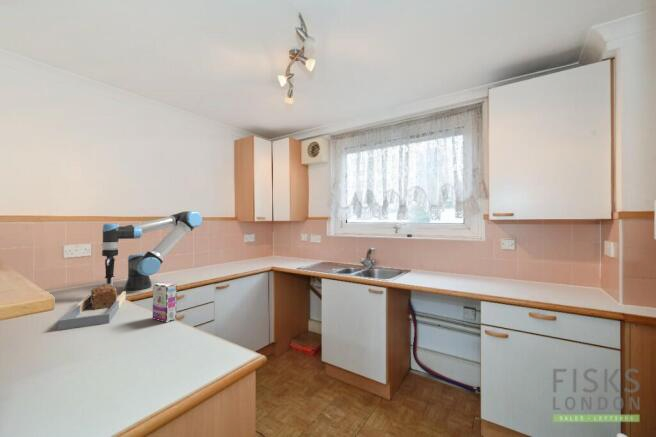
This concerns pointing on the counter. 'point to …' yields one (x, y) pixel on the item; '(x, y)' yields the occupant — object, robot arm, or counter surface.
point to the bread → (103, 296)
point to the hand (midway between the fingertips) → (109, 288)
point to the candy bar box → (164, 301)
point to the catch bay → (72, 322)
